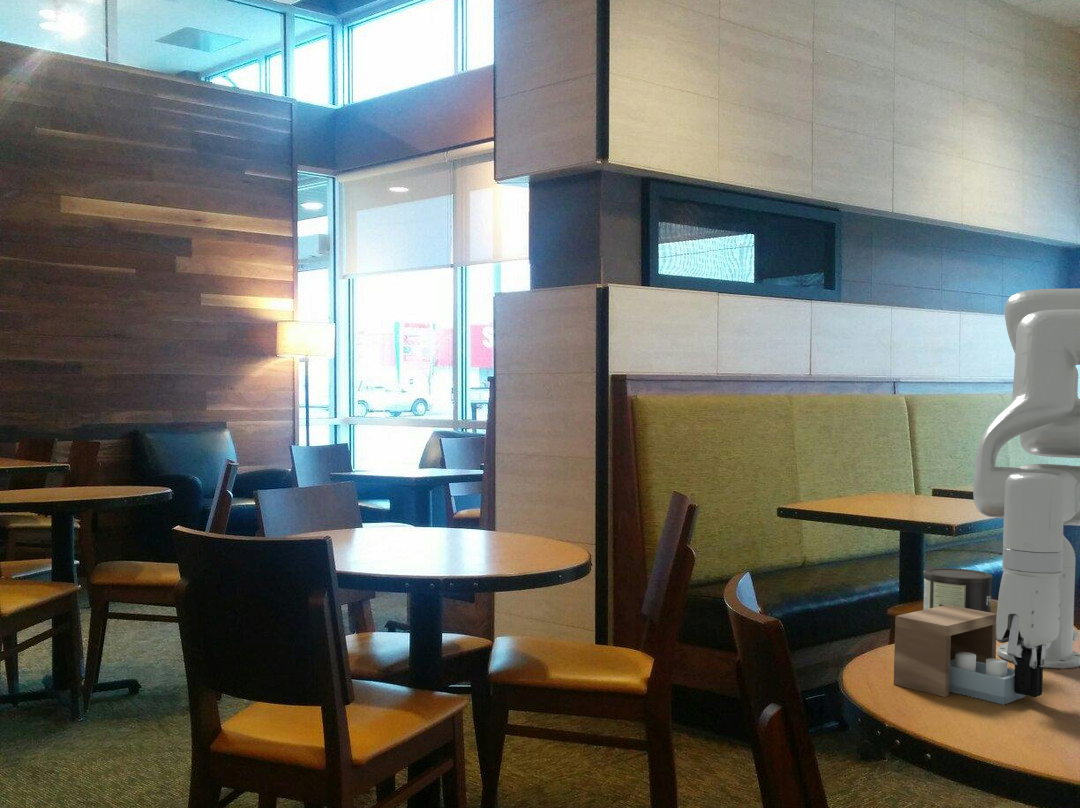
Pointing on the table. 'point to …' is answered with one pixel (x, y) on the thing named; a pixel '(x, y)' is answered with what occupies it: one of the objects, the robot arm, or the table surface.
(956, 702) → the table surface
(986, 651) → the wooden footstool
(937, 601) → the coffee can
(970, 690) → the tray
